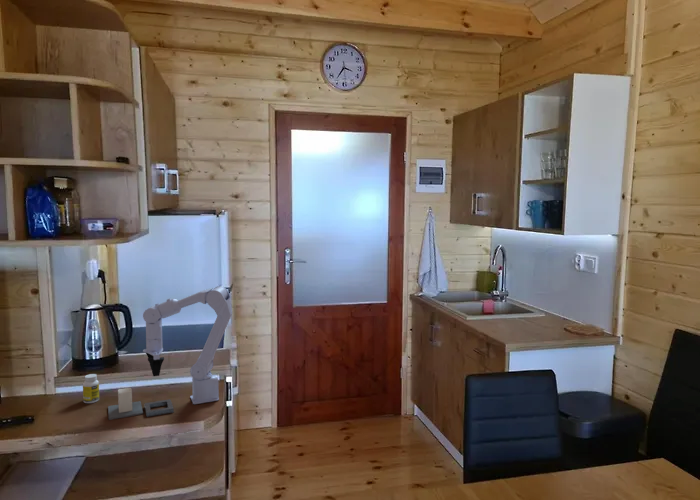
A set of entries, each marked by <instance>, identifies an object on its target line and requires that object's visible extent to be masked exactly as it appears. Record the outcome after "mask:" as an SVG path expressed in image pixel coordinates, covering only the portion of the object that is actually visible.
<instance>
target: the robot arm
mask: <svg viewBox="0 0 700 500" xmlns="http://www.w3.org/2000/svg"><path fill="white" fill-rule="evenodd" d="M229 292H230V291H228V289H227V288H226V287H225V286H222V285H219V286H218V285H217V286H215V287H211V288H206V289H203V290H200V291H198V292H196V293H194V294H191V295H188V296H186V297H183V298H181V299H176V298H171V297H170V298H167V299H166V301H164V302H161V303H159V302H157V303H155V304H154V305H153V306H150V307H148V308H147V309H145V310H144V311H143V313H142V318H143V320H144V322H145V343H146V344H145V346H146V347H145V348H144V349H143V350H142V353H145V354H146V356H147V362H148V364H149V366H150V370H151V372H152V377H159V376H160V374H161V368H162V365H163V363H164V361H165V357H163V356H162V357H160V356H161V354H162V352H164V348H163V319H166V318H168V317H172V316H174V315H177V314H179V313H180V312H181V310H182V309H183V308H186V307H189V306H192V305H195V304H198V303H201V304H203V305H208V306H209V307H210V308H211V309H212V310H213V311H214V312H215V315H216V319H215V320H214V323H213V326H212V327H211V330H210V332H209V334H208V336H207V339H206V342H205V344H204V346H203V349H202V351H201V353H200V354H199V357H197V359H196V362H195V363H194V364H192V366H191V367H190V370H189V372H190V376H191V378H192V379H191V380H192V381H191V382H192V387H191V388H192V389H191V390H192V395H190V396H189V398H190V400H191V402H192V405H198V404H204V403H211V402H217V401H219V400H220V397H219V395H220V393H219V392H220V391H219V379H218V375H217V374H212V369H213V367H214V359H215V355H216V352H217V350H218V347H219V346H220V342H221V341H222V338H223V337H224V334H225V333H226V332H225V331H226V329H227V327H228V325H229V323H230V320H231V318H232V315H233V309H232V303H231V302H232V301H231V294H230V293H229Z"/></svg>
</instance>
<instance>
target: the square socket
mask: <svg viewBox="0 0 700 500" xmlns="http://www.w3.org/2000/svg"><path fill="white" fill-rule="evenodd" d="M164 406H166V407H164ZM159 407H164V408H159ZM151 408H152V410H151ZM153 408H157V409H153ZM144 411H145V415H146V418H149V417H156V416H161V415H165V414H167V415H168V414H172V413H174V412H175V411H174V406H173V402H172V400H171V398H170V399H163V400H156V401H150V402H145V403H144Z"/></svg>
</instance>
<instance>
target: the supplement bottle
mask: <svg viewBox="0 0 700 500" xmlns="http://www.w3.org/2000/svg"><path fill="white" fill-rule="evenodd" d="M97 376H98V375H97V373H89V374H86V375H85V376H84V382H83V383H82V401H83V402H82V403H85V404H93V403H96V402H98V401H100V381H99V380H98V377H97Z"/></svg>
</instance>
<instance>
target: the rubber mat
mask: <svg viewBox="0 0 700 500" xmlns="http://www.w3.org/2000/svg"><path fill="white" fill-rule="evenodd" d="M107 409H108V413H107V414H108V421H111V420H117V419H124V418H130V417H134V416H140V415H144V411H143V407H142V402H141V400H139V401H132V410H133V411H127V412H121V413H119V404H114V405H107Z"/></svg>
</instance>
